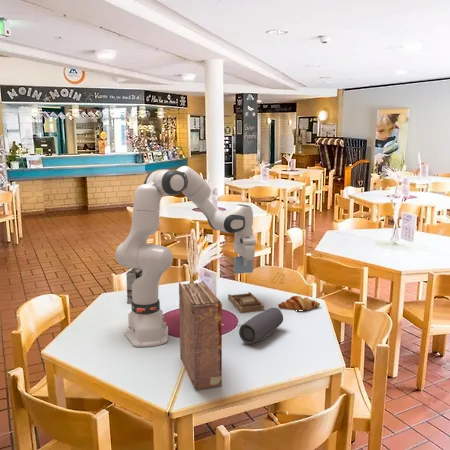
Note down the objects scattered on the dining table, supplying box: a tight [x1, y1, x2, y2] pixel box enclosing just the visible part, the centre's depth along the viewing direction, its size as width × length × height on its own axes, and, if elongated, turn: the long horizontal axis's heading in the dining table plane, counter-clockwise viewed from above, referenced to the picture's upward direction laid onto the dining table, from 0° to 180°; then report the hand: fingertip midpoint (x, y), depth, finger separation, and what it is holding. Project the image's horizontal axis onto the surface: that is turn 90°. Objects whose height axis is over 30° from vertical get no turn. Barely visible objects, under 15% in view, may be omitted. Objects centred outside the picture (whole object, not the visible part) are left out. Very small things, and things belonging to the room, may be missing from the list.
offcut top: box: [240, 297, 255, 304], centre depth 229 cm, size 4×6×2 cm
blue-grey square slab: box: [233, 255, 254, 275], centre depth 230 cm, size 2×9×8 cm, turn 107°
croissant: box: [277, 295, 321, 312], centre depth 228 cm, size 21×10×8 cm, turn 101°
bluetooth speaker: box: [238, 306, 284, 345], centre depth 196 cm, size 23×9×10 cm, turn 145°
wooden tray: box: [227, 292, 265, 314], centre depth 231 cm, size 20×12×4 cm, turn 17°
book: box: [178, 280, 223, 391], centre depth 166 cm, size 25×9×30 cm, turn 17°
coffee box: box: [125, 268, 142, 304], centre depth 238 cm, size 9×6×16 cm
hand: (243, 264), depth 230 cm, fingers closed on blue-grey square slab, 2 cm apart
